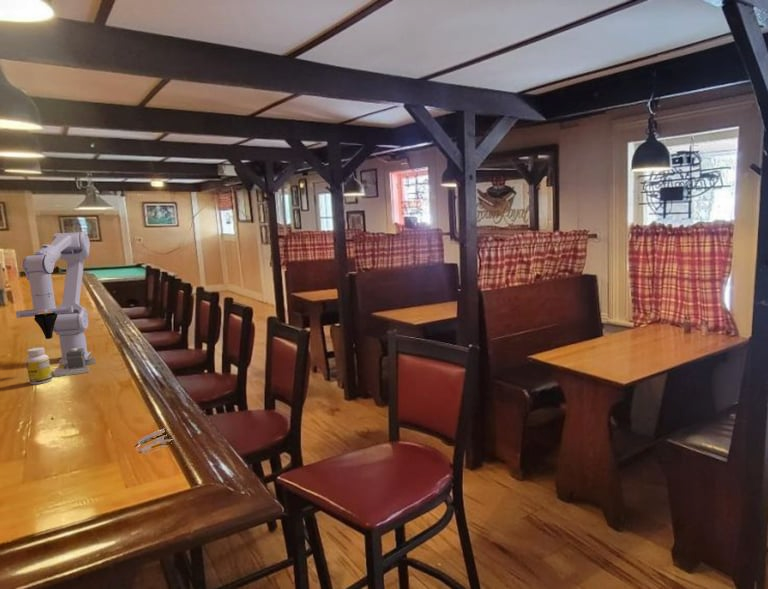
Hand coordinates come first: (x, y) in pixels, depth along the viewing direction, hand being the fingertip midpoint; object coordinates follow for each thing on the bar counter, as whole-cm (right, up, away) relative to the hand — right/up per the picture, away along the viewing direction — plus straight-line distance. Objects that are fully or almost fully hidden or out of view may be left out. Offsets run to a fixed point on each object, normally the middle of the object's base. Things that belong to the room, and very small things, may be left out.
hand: (49, 338), depth 157 cm
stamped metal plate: (+58, -17, -56) cm, 82 cm away
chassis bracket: (+7, -10, +2) cm, 12 cm away
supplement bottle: (+4, -12, -9) cm, 16 cm away
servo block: (+7, -10, +2) cm, 13 cm away
